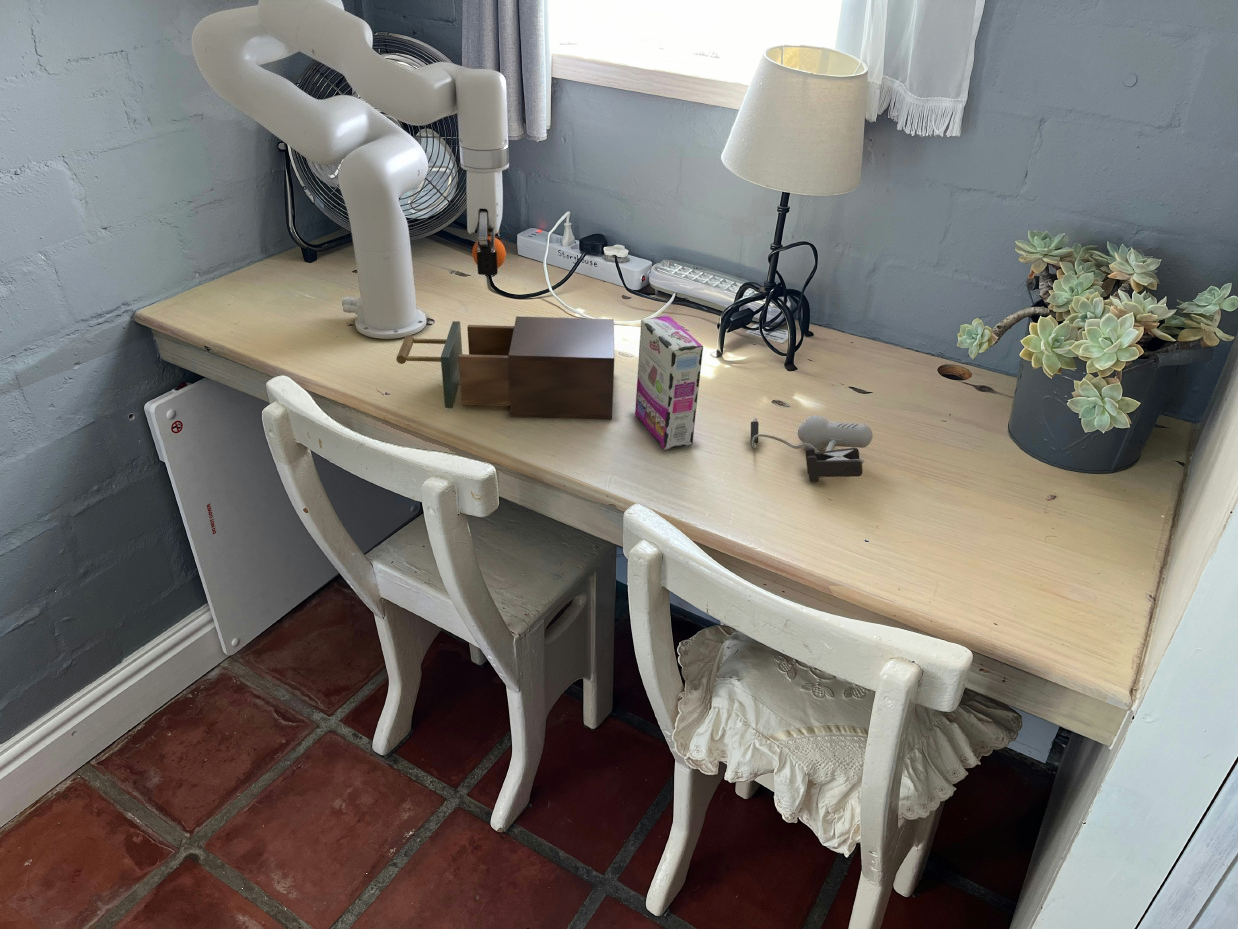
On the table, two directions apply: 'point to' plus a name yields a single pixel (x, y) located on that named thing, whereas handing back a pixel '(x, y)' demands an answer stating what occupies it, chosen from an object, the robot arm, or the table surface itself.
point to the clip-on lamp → (829, 434)
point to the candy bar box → (668, 381)
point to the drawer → (471, 364)
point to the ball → (498, 247)
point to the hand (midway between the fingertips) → (489, 266)
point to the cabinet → (562, 368)
